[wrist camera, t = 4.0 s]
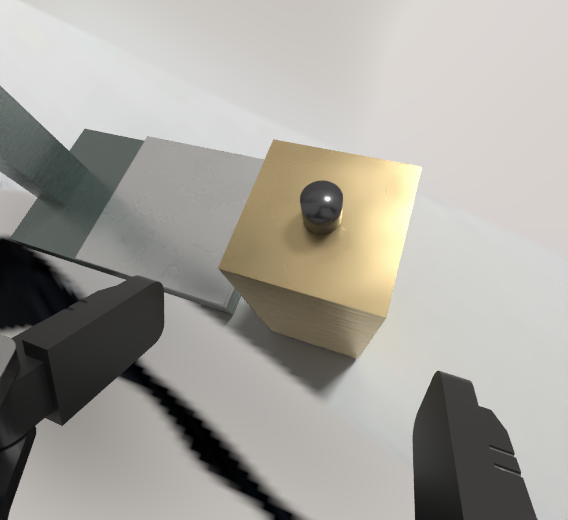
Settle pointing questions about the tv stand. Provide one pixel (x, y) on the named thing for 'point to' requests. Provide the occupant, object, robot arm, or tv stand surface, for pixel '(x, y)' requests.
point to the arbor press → (129, 204)
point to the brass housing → (322, 243)
